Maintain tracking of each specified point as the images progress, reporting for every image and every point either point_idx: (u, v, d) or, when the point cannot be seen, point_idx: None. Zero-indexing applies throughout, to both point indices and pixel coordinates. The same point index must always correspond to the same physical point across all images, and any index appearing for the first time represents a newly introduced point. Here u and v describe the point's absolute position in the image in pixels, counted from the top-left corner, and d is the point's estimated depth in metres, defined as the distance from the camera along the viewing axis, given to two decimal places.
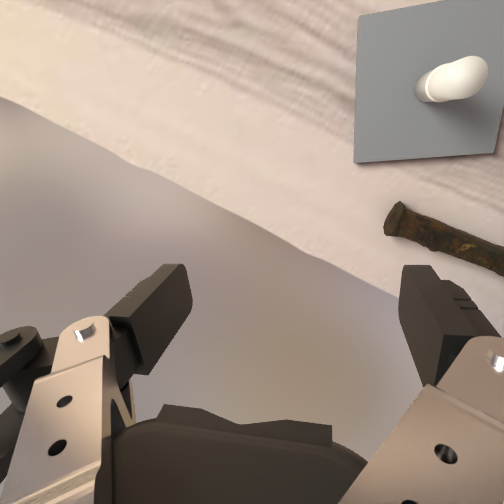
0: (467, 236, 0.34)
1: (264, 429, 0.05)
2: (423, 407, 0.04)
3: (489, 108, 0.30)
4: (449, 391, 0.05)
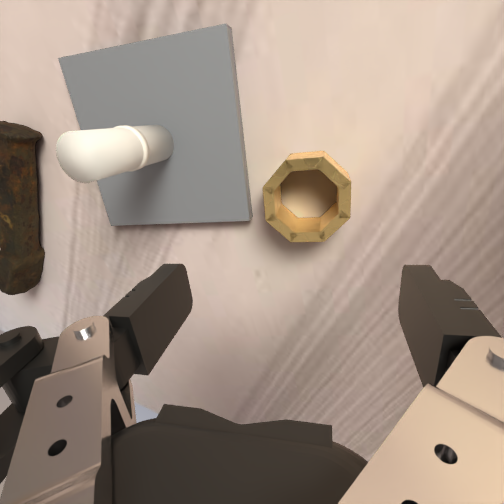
0: (20, 218, 0.29)
1: (264, 429, 0.05)
2: (423, 407, 0.04)
3: (147, 212, 0.28)
4: (449, 391, 0.05)
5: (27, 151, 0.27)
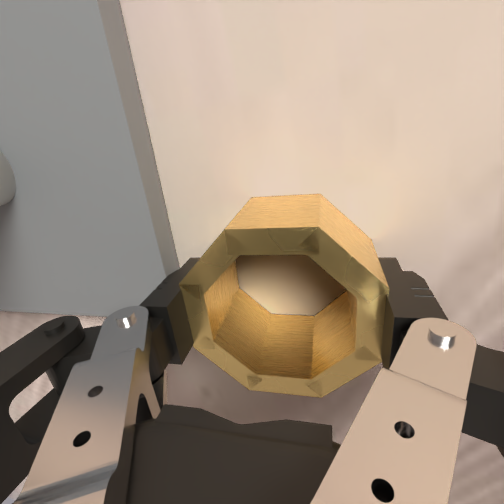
0: None
1: (263, 429, 0.05)
2: (381, 390, 0.05)
3: None
4: (400, 372, 0.06)
5: None
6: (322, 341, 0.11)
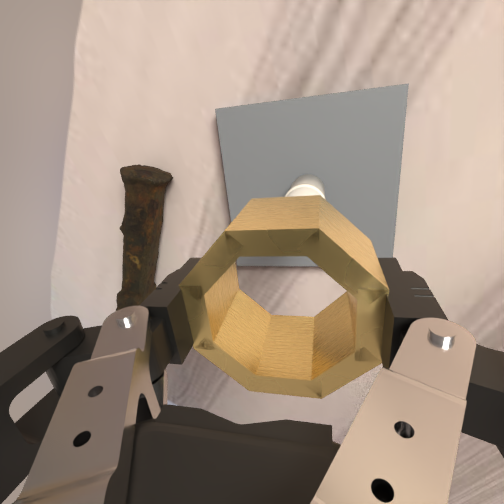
0: (148, 258, 0.29)
1: (264, 429, 0.05)
2: (381, 390, 0.05)
3: None
4: (400, 372, 0.06)
5: (161, 193, 0.27)
6: (322, 342, 0.11)
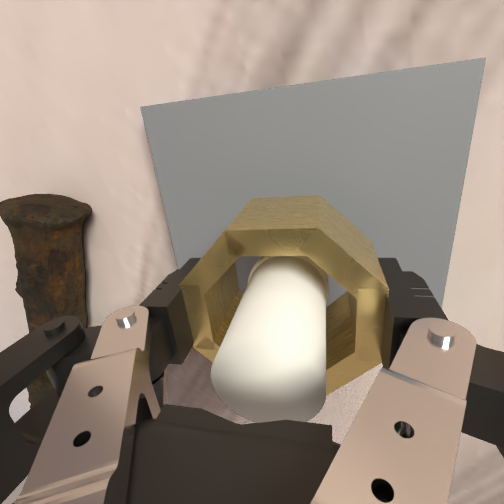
0: None
1: (263, 429, 0.05)
2: (380, 390, 0.05)
3: None
4: (400, 372, 0.06)
5: (72, 237, 0.18)
6: None
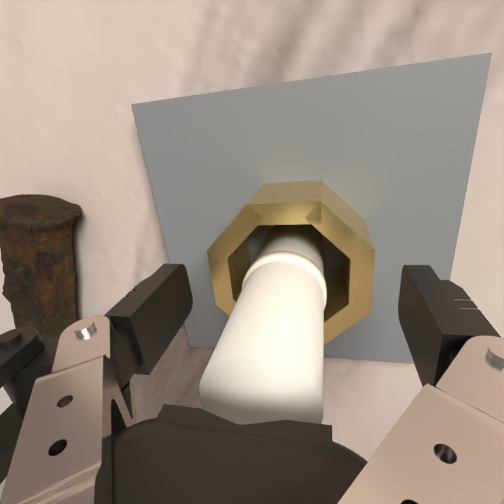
0: (53, 335, 0.19)
1: (264, 429, 0.05)
2: (422, 407, 0.04)
3: None
4: (448, 391, 0.05)
5: (61, 239, 0.17)
6: None
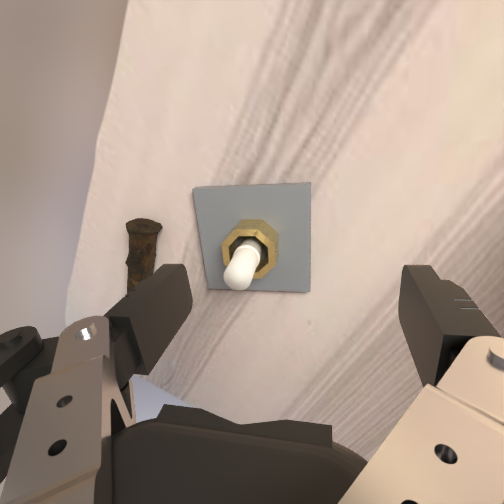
0: None
1: (263, 429, 0.05)
2: (423, 407, 0.04)
3: None
4: (449, 391, 0.05)
5: (154, 238, 0.39)
6: (262, 264, 0.36)
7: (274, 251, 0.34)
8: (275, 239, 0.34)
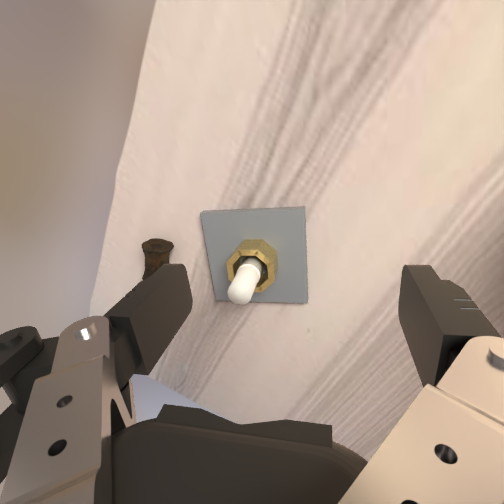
0: None
1: (264, 428, 0.05)
2: (423, 407, 0.04)
3: None
4: (449, 391, 0.05)
5: (167, 256, 0.44)
6: (263, 279, 0.40)
7: (273, 268, 0.38)
8: (274, 257, 0.39)
